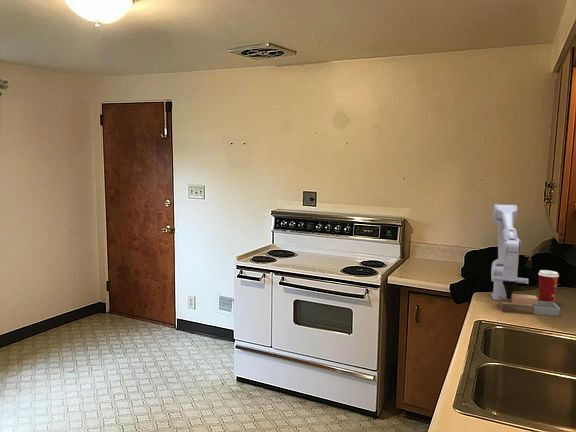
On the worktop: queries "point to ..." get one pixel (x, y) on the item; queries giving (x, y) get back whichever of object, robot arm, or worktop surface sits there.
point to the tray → (546, 309)
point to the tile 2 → (531, 299)
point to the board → (514, 306)
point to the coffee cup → (547, 285)
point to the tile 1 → (517, 298)
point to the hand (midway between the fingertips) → (508, 298)
